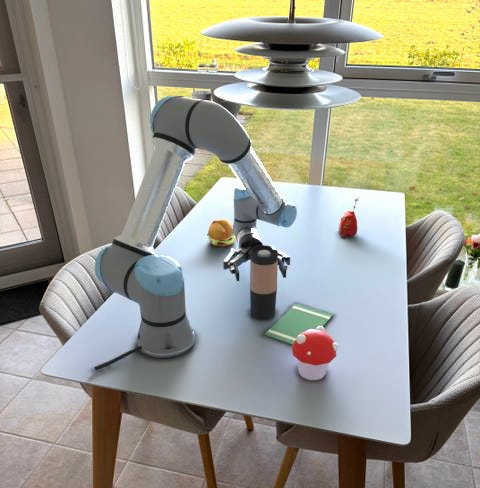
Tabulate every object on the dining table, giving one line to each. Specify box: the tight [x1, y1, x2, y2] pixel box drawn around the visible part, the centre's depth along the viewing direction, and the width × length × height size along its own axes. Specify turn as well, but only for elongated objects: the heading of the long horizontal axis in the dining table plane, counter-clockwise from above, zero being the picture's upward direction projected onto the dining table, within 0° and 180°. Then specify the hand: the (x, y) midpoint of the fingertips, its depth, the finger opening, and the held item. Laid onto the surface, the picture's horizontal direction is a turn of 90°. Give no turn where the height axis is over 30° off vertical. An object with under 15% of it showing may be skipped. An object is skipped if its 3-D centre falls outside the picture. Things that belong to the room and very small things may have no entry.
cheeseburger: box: [206, 218, 236, 247], centre depth 187 cm, size 10×11×10 cm
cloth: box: [264, 303, 334, 346], centre depth 143 cm, size 19×12×1 cm, turn 148°
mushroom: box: [291, 326, 339, 381], centre depth 122 cm, size 11×11×12 cm
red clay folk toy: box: [338, 196, 360, 239], centre depth 190 cm, size 8×7×15 cm
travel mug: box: [249, 244, 279, 321], centre depth 143 cm, size 8×8×20 cm
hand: (261, 275), depth 145 cm, fingers open, 13 cm apart
